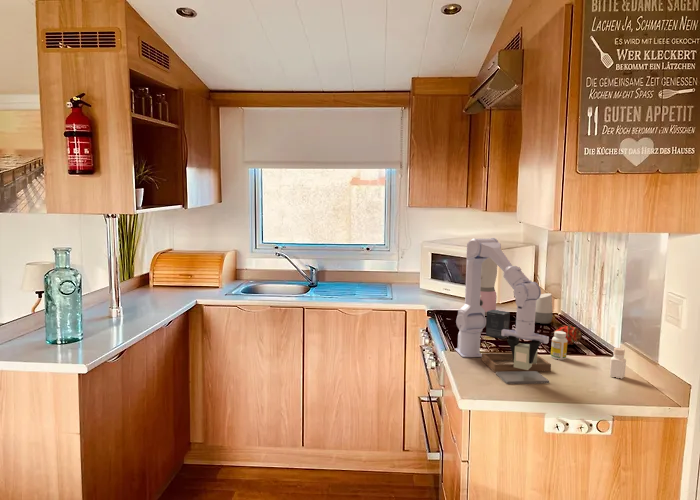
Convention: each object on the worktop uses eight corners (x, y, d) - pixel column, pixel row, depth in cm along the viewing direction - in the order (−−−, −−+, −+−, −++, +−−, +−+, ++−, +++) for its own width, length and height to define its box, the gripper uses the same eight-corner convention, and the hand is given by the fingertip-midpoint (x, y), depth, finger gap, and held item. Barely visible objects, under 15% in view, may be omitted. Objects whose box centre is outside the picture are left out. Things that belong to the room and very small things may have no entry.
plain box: (518, 363, 183) (519, 344, 182) (530, 363, 184) (531, 344, 183) (523, 367, 179) (525, 348, 178) (536, 367, 179) (537, 348, 178)
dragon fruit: (584, 349, 207) (552, 351, 210) (579, 333, 213) (549, 334, 216) (585, 336, 201) (552, 338, 204) (580, 319, 208) (549, 321, 210)
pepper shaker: (611, 373, 175) (614, 346, 174) (625, 376, 172) (627, 348, 171) (609, 376, 172) (611, 348, 171) (622, 379, 169) (624, 351, 168)
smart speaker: (530, 319, 249) (532, 290, 247) (550, 321, 246) (552, 292, 245) (531, 324, 240) (533, 294, 238) (552, 326, 237) (554, 296, 236)
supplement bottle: (553, 359, 188) (555, 334, 187) (548, 355, 193) (550, 330, 192) (568, 360, 188) (570, 334, 187) (562, 355, 193) (564, 330, 192)
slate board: (495, 373, 172) (496, 371, 172) (536, 373, 173) (536, 371, 173) (506, 383, 163) (506, 381, 163) (549, 383, 164) (549, 380, 164)
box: (508, 336, 218) (510, 312, 216) (502, 339, 213) (504, 314, 212) (491, 333, 223) (493, 308, 222) (485, 335, 219) (486, 310, 218)
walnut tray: (481, 360, 186) (481, 353, 186) (533, 359, 188) (534, 352, 188) (494, 372, 174) (494, 364, 173) (550, 371, 176) (551, 364, 175)
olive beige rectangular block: (513, 367, 167) (514, 346, 166) (517, 363, 171) (519, 342, 170) (527, 370, 164) (528, 348, 164) (531, 366, 168) (533, 345, 167)
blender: (475, 310, 266) (479, 248, 263) (499, 313, 259) (502, 250, 256) (463, 315, 253) (467, 250, 250) (488, 319, 247) (491, 252, 243)
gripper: (552, 321, 165) (549, 362, 167) (507, 314, 173) (504, 353, 175) (546, 325, 159) (543, 368, 161) (500, 318, 168) (497, 358, 169)
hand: (523, 361), depth 167 cm, fingers closed on olive beige rectangular block, 4 cm apart
